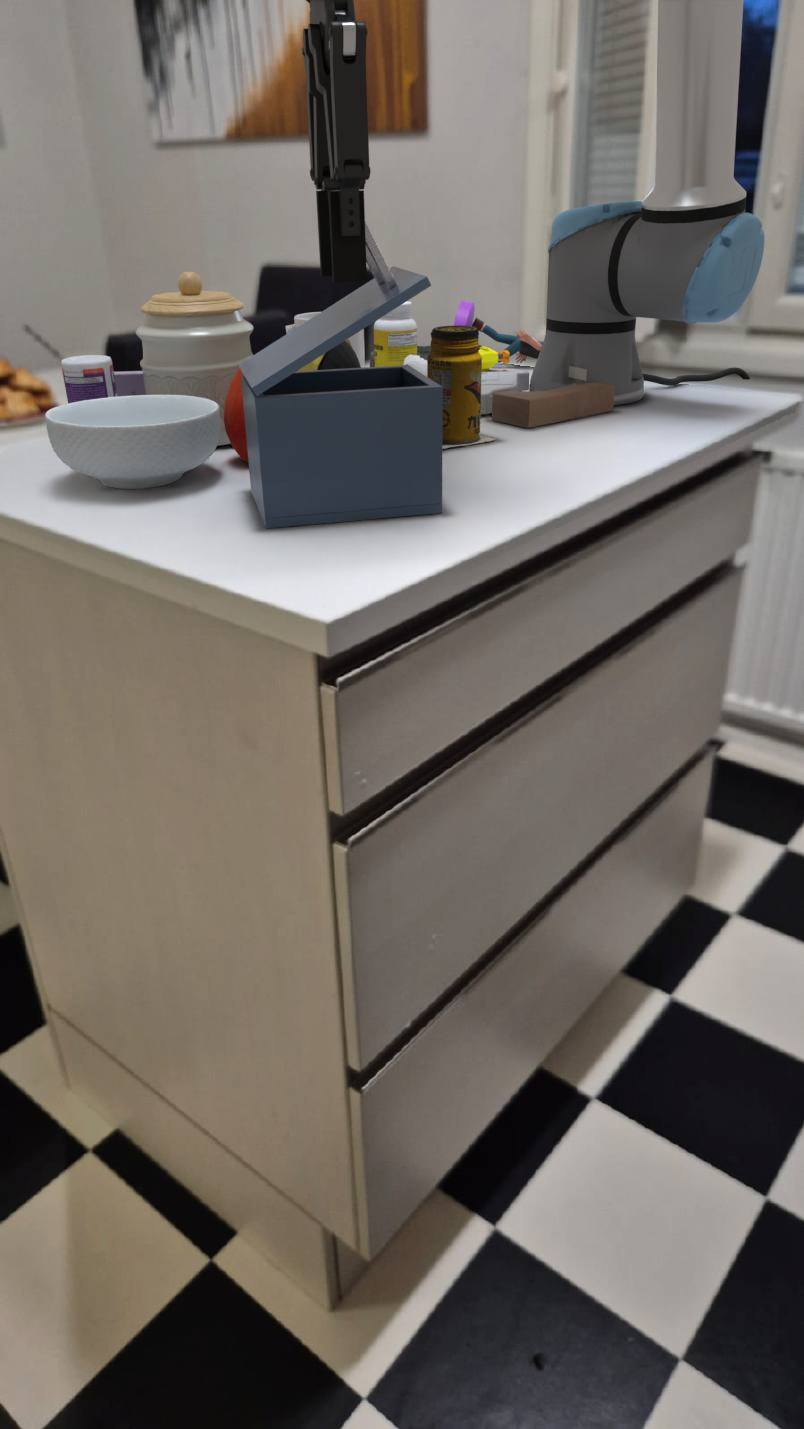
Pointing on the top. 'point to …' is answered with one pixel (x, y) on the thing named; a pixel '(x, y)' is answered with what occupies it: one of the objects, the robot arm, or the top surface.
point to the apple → (236, 417)
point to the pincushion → (417, 363)
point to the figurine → (517, 343)
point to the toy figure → (492, 357)
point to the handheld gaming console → (501, 385)
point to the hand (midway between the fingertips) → (343, 277)
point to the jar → (193, 343)
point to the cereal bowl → (135, 437)
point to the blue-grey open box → (345, 446)
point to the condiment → (458, 383)
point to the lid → (335, 321)
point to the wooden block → (552, 404)
